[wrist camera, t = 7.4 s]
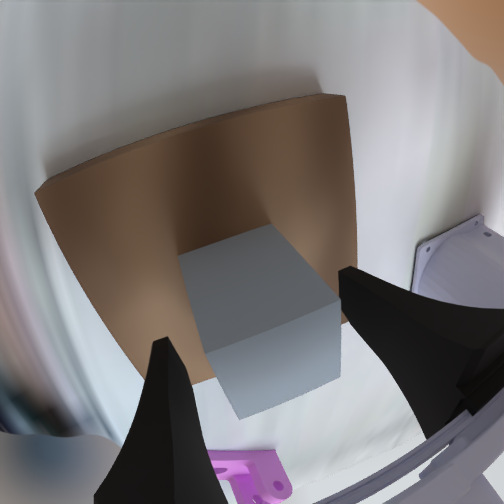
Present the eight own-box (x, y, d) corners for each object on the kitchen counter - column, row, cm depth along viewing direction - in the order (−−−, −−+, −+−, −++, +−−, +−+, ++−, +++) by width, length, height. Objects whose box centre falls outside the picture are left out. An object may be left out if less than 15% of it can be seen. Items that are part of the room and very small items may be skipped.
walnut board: (323, 93, 14) (345, 95, 13) (341, 300, 22) (356, 317, 20) (46, 180, 12) (34, 193, 10) (153, 373, 20) (157, 396, 18)
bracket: (274, 449, 32) (297, 496, 26) (249, 469, 33) (268, 513, 28) (171, 446, 25) (187, 509, 20) (153, 467, 27) (166, 523, 21)
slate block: (271, 223, 15) (340, 299, 10) (284, 295, 17) (340, 376, 12) (177, 256, 14) (204, 353, 9) (205, 325, 16) (239, 419, 11)
